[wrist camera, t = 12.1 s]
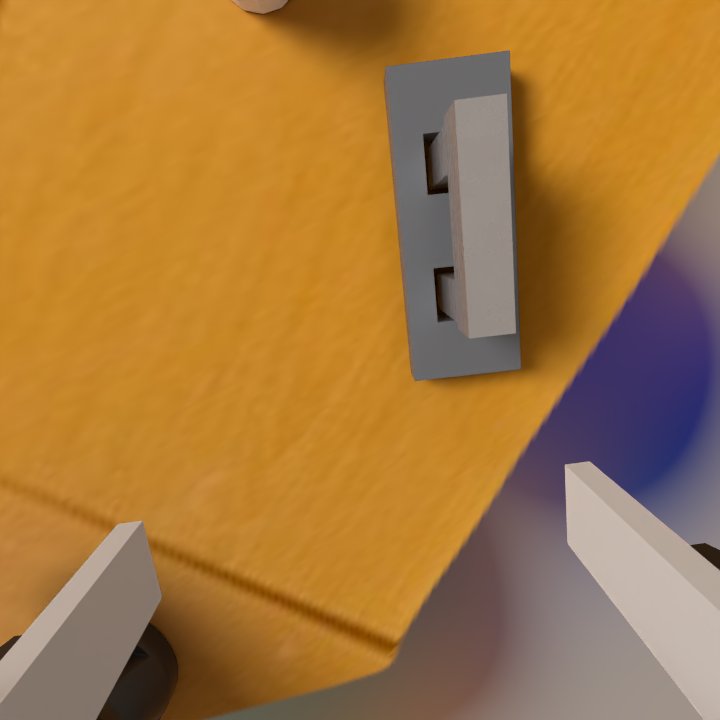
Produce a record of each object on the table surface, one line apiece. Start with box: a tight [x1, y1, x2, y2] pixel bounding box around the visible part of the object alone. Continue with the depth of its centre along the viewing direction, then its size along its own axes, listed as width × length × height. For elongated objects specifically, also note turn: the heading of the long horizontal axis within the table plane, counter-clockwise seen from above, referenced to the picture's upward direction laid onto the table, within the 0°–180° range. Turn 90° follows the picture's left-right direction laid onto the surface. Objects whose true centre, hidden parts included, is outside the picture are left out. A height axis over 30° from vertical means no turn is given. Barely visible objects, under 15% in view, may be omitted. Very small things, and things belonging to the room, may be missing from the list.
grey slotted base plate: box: [384, 51, 521, 381], centre depth 38 cm, size 9×24×3 cm, turn 7°
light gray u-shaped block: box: [427, 93, 516, 339], centre depth 34 cm, size 3×14×12 cm, turn 7°
